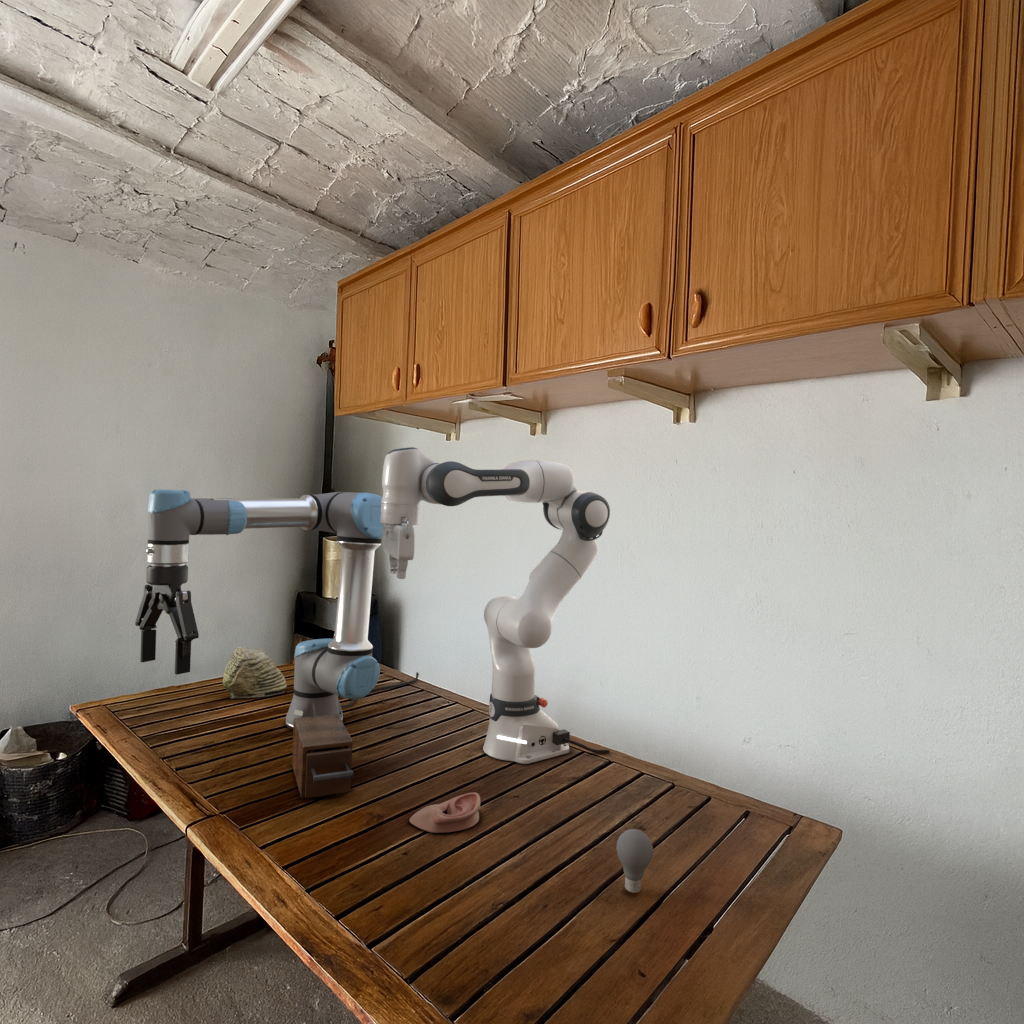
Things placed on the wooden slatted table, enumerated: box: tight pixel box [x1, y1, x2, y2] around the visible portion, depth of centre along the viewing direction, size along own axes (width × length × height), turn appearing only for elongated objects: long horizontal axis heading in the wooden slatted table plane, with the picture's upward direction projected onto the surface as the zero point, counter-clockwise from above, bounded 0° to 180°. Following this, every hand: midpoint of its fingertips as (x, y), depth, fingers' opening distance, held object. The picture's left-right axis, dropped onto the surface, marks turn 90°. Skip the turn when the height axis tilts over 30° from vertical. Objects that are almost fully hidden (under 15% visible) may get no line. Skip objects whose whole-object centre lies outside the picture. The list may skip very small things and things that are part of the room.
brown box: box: [291, 714, 353, 799], centre depth 143 cm, size 18×10×11 cm, turn 25°
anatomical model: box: [409, 791, 481, 834], centre depth 126 cm, size 13×4×12 cm
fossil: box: [222, 646, 288, 699], centre depth 198 cm, size 9×18×15 cm, turn 132°
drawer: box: [304, 746, 354, 799], centre depth 138 cm, size 22×9×9 cm, turn 25°
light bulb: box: [615, 828, 654, 894], centre depth 106 cm, size 6×6×10 cm
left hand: (164, 667), depth 131 cm, fingers open, 13 cm apart
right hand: (397, 575), depth 148 cm, fingers open, 8 cm apart
